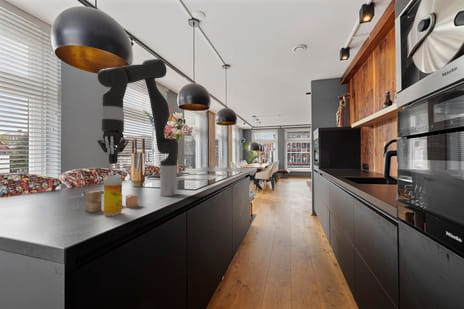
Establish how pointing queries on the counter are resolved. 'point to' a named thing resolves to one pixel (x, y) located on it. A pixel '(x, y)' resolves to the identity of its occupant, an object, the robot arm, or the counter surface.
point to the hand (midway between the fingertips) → (113, 163)
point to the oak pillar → (93, 201)
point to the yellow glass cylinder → (112, 195)
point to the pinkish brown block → (131, 201)
